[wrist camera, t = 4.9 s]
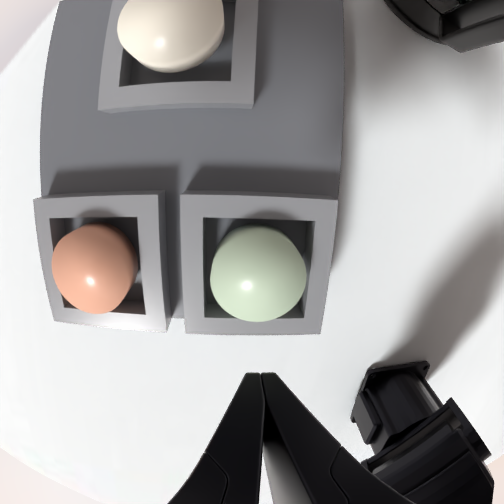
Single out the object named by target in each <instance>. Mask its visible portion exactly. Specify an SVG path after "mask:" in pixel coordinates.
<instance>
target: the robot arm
mask: <svg viewBox="0 0 504 504" xmlns="http://www.w3.org/2000/svg"><path fill="white" fill-rule="evenodd" d="M429 367H430V364H429V363H428V362H427V361H422V362H417V363H411V364H405V365H398V366H391V367H384V368H377V369H371V370H369V371H368V372H367V373H366V375H365V378H364V381H363V384H362V387H361V390H360V392H359V393H358V396H357V399H356V401H355V404H354V407H353V410H352V415H351V417H350V419H351V421H352V422H353V423H357V426H358V428H359V431H360V433H361V436H362V438H363V441H364V443H365V444H367V445H368V444H371V447H372V449H373V452H374V454H375V455H374V456H372V457H371V458H369V459H365V460H364V461H362V462H361V464H360V463H359V462H358V461H357V460H356V459H355V458H354V457H353V456H352V455H351V454H350V453H349V452H348V451H347V450H346V449H345V448H344V447H343V446H341V444H340V443H339V442H338V441H337V440H336V439H335V438H334V437H333V436H332V435H331V434H330V433H329V431H328V430H327V429H326V428H325V427H324V426H323V425H322V424H321V423H320V422H319V421H318V420H317V419H316V418H315V417H314V415H313V414H312V413H311V412H310V411H309V410H308V409H307V408H306V407H305V406H304V405H303V403H302V402H301V401H300V400H299V399H298V398H297V397H296V396H295V395H294V393H293V392H292V391H291V390H290V389H289V388H288V387H287V386H286V384H285V383H284V382H283V381H282V380H281V379H280V378H279V376H278V375H277V374H276V373H273V372H269V373H261V375H260V373H246V374H245V376H244V377H243V379H242V381H241V383H240V385H239V387H238V389H237V391H236V393H235V395H234V397H233V399H232V401H231V403H230V405H229V407H228V409H227V410H226V412H225V414H224V416H223V418H222V420H221V422H220V424H219V426H218V427H217V429H216V431H215V433H214V435H213V437H212V439H211V440H210V442H209V444H208V446H207V448H206V450H205V453H203V455H202V456H201V458H200V460H199V462H198V463H197V465H196V467H195V468H194V470H193V472H192V473H191V475H190V476H189V478H188V479H187V480H186V482H185V483H184V484H183V486H182V487H181V488H180V490H179V491H178V492H177V493H176V494H175V496H174V497H173V498H172V499H171V500H170V501H169V503H168V504H259V493H260V480H261V466H262V452H263V456H264V461H265V466H266V471H267V475H268V480H269V485H270V490H271V494H272V499H273V504H492V499H493V490H494V480H493V478H492V475H491V473H490V471H489V469H488V468H487V466H486V464H485V463H484V460H486V459H487V458H488V457H489V456H490V455H491V453H490V451H489V450H488V448H487V447H486V445H485V444H484V442H483V441H482V439H481V438H480V436H479V435H478V433H477V432H476V430H475V429H474V427H473V426H472V425H471V423H470V422H469V420H468V419H467V418H466V416H465V415H464V414H463V412H462V411H461V409H460V408H459V407H458V405H457V404H456V403H455V401H454V400H453V399H452V397H451V398H450V399H448V400H447V401H446V403H445V404H444V405H443V404H442V402H441V401H440V399H439V398H438V397H437V395H436V394H435V392H434V391H433V390H432V388H431V387H430V385H429V384H428V383H427V381H426V380H425V376H426V374H427V372H428V369H429ZM371 375H372V376H371Z"/></svg>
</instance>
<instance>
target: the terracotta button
mask: <svg viewBox="0 0 504 504" xmlns="http://www.w3.org/2000/svg"><path fill="white" fill-rule="evenodd" d="M52 273H53V277H54V280H55V283H56V285H57V287H58V289H59V291H60V292H61V294H62V295H63V296H64V298H65V299H66V300H67V301H68V302H69V303H71V304H72V305H73V306H75V307H76V308H78V309H80V310H82V311H84V312H87V313H92V314H103V313H107V312H110V311H112V310H113V309H115V308H116V307H117V306H118V305H119V304H120V303H121V302H122V300H123V299H124V297H125V296H126V294H127V293H128V291H129V290H130V288H131V287H132V285H133V284H134V282H135V280H136V277H137V273H138V260H137V255H136V252H135V249H134V247H133V245H132V243H131V241H130V240H129V239H128V237H127V236H126V235H125V234H124V233H123V232H122V231H121V230H119V229H118V228H117V227H115V226H113V225H111V224H108V223H105V222H90V223H87V224H85V225H83V226H81V227H79V228H77V229H76V230H74V231H72V232H71V233H69V234H67V235H66V236H64V237H63V238H62V239H61V240H60V241H59V242H58V243H57V245H56V247H55V249H54V252H53V255H52Z"/></svg>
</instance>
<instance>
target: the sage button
mask: <svg viewBox="0 0 504 504" xmlns="http://www.w3.org/2000/svg"><path fill="white" fill-rule="evenodd" d="M306 277H307V274H306V267H305V263H304V261H303V258H302V257H301V255H300V253H299V252H298V250H297V248H296V247H295V245H294V244H293V242H292V241H291V239H290V238H289V237H288V236H287V235H286V234H285V233H284V232H282V231H281V230H279V229H278V228H276V227H273V226H271V225H267V224H260V223H254V224H247V225H243V226H240V227H238V228H236V229H234V230H232V231H231V232H229V233H228V234H227V235H226V236H225V237H224V238H223V239H222V240H221V242H220V243H219V245H218V246H217V248H216V251H215V254H214V258H213V263H212V269H211V275H210V283H211V289H212V292H213V295H214V297H215V299H216V301H217V302H218V303H219V305H220V306H221V307H222V308H223V309H224V310H225V311H226V312H228V313H229V314H231V315H232V316H234V317H236V318H238V319H241V320H245V321H250V322H263V321H269V320H272V319H275V318H278V317H280V316H282V315H284V314H285V313H287V312H288V311H290V310H291V309H292V308H293V307H294V306H295V305H296V303H297V302H298V301H299V299H300V298H301V296H302V294H303V292H304V289H305V285H306Z"/></svg>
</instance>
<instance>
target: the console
mask: <svg viewBox="0 0 504 504" xmlns="http://www.w3.org/2000/svg"><path fill="white" fill-rule="evenodd" d="M127 1H128V0H63V1H60V2H59V6H58V10H57V14H56V18H55V22H54V26H53V31H52V36H51V41H50V46H49V52H48V58H47V64H46V71H45V79H44V87H43V97H42V110H41V129H40V176H41V195H42V197H40V198H37V199H34V200H33V202H34V213H35V223H36V231H37V239H38V246H39V252H40V258H41V264H42V269H43V275H44V280H45V284H46V289H47V293H48V298H49V302H50V306H51V310H52V314H53V318H54V321H57V322H64V323H72V324H79V325H88V326H96V327H106V328H116V329H127V330H139V331H152V332H167V330H168V327H169V324H170V321H171V318H184V319H185V333H186V334H212V335H304V334H320V332H321V326H322V321H323V315H324V309H325V302H326V296H327V290H328V283H329V276H330V269H331V261H332V254H333V246H334V238H335V229H336V220H337V210H338V192H339V180H340V167H341V152H342V135H343V111H344V23H343V1H342V0H222V4H223V12H224V35H223V38H222V41H221V43H220V45H219V47H218V48H217V50H216V51H215V52H214V53H213V54H212V55H211V56H210V57H209V58H208V59H207V60H205V61H204V62H203V63H201V64H199V65H198V66H196V67H193V68H191V69H188V70H185V71H181V72H174V73H164V72H158V71H154V70H151V69H149V68H147V67H145V66H144V65H143V64H141V63H140V62H139V61H138V60H137V59H136V58H134V57H133V56H132V55H131V54H130V53H129V52H128V51H127V50H126V49H125V48H124V47H123V46H122V44H121V42H120V40H119V37H118V33H117V24H118V19H119V16H120V13H121V11H122V9H123V7H124V6H125V4H126V3H127ZM90 222H105V223H108V224H111V225H113V226H115V227H117V228H118V229H119V230H121V231H122V232H123V233H124V234H125V235H126V236H127V237H128V239H129V240H130V241H131V243H132V245H133V247H134V249H135V252H136V255H137V260H138V273H137V277H136V280H135V282H134V284H133V285H132V287H131V288H130V290H129V291H128V293H127V294H126V296H125V297H124V299H123V300H122V302H121V303H120V304H119V305H118V306H117V307H116V308H115V309H113V310H112V311H110V312H107V313H103V314H92V313H87V312H84V311H82V310H80V309H78V308H76V307H75V306H73V305H72V304H71V303H69V302H68V301H67V300H66V299H65V298H64V296H63V295H62V294H61V292H60V291H59V289H58V287H57V285H56V283H55V280H54V277H53V273H52V255H53V252H54V249H55V247H56V245H57V243H58V242H59V241H60V240H61V239H62V238H63V237H64V236H66V235H67V234H69V233H71V232H72V231H74V230H76V229H77V228H79V227H81V226H83V225H85V224H87V223H90ZM254 223H260V224H267V225H271V226H273V227H276V228H278V229H279V230H281V231H282V232H284V233H285V234H286V235H287V236H288V237H289V238H290V239H291V241H292V242H293V244H294V245H295V247H296V248H297V250H298V252H299V253H300V255H301V257H302V258H303V261H304V263H305V267H306V274H307V277H306V285H305V289H304V292H303V294H302V296H301V298H300V299H299V301H298V302H297V303H296V305H295V306H294V307H293V308H292V309H291V310H290V311H288V312H287V313H285V314H284V315H282V316H280V317H278V318H275V319H272V320H269V321H263V322H250V321H245V320H241V319H238V318H236V317H234V316H232V315H231V314H229V313H228V312H226V311H225V310H224V309H223V308H222V307H221V306H220V305H219V303H218V302H217V301H216V299H215V297H214V295H213V292H212V289H211V283H210V275H211V269H212V263H213V258H214V254H215V251H216V248H217V246H218V245H219V243H220V242H221V240H222V239H223V238H224V237H225V236H226V235H227V234H228V233H229V232H231V231H232V230H234V229H236V228H238V227H240V226H243V225H247V224H254Z"/></svg>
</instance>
